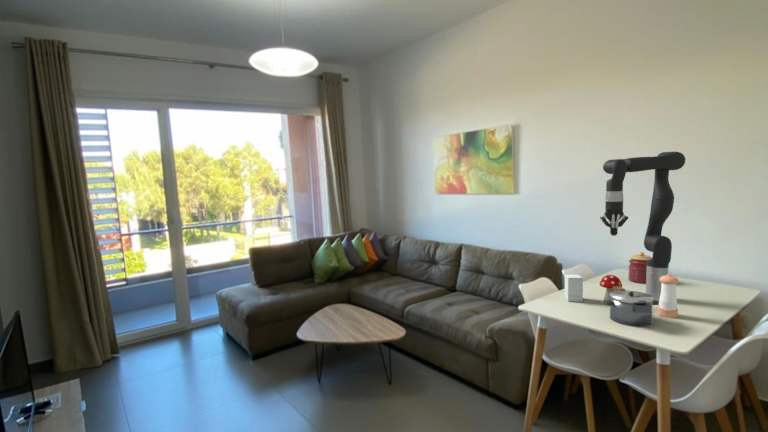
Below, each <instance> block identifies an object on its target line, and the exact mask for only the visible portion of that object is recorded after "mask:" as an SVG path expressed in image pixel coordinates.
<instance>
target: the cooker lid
mask: <svg viewBox="0 0 768 432" xmlns="http://www.w3.org/2000/svg"><path fill="white" fill-rule="evenodd" d="M613 290H615V291H612V292H610V298H612V299H614V300H617V301H620V302H625V303H632V304H648V303H652V302H653V296H651V295H649V294H646V292H642V291H635V290H628V289H627V290H626V288H624V287H623V286H622V287H620V286H613Z"/></svg>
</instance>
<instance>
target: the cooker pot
mask: <svg viewBox="0 0 768 432" xmlns="http://www.w3.org/2000/svg"><path fill="white" fill-rule="evenodd" d="M605 304H606V305H605ZM603 305H605V306H609V305H610V306H609V318H610V320H612V322H614V323H617V324H620V325H623V326H628V327H643V328H644V327H649V326H651V325H652V324H653V306H659V301H656V300H653V302H652V303H648V304H632V303H625V302H620V301H617V300H614V299H612V298H610V300H604V303H603Z"/></svg>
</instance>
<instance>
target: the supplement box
mask: <svg viewBox="0 0 768 432" xmlns="http://www.w3.org/2000/svg"><path fill="white" fill-rule="evenodd" d="M583 282H584V278H583V277H582V276H581V275H580V274H564V299H566V301H567V302H575V303H576V302H577V303H578V302H580V303H581V302H584V301H583V300H584V295H583V293H584V291H583V290H584V283H583Z"/></svg>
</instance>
